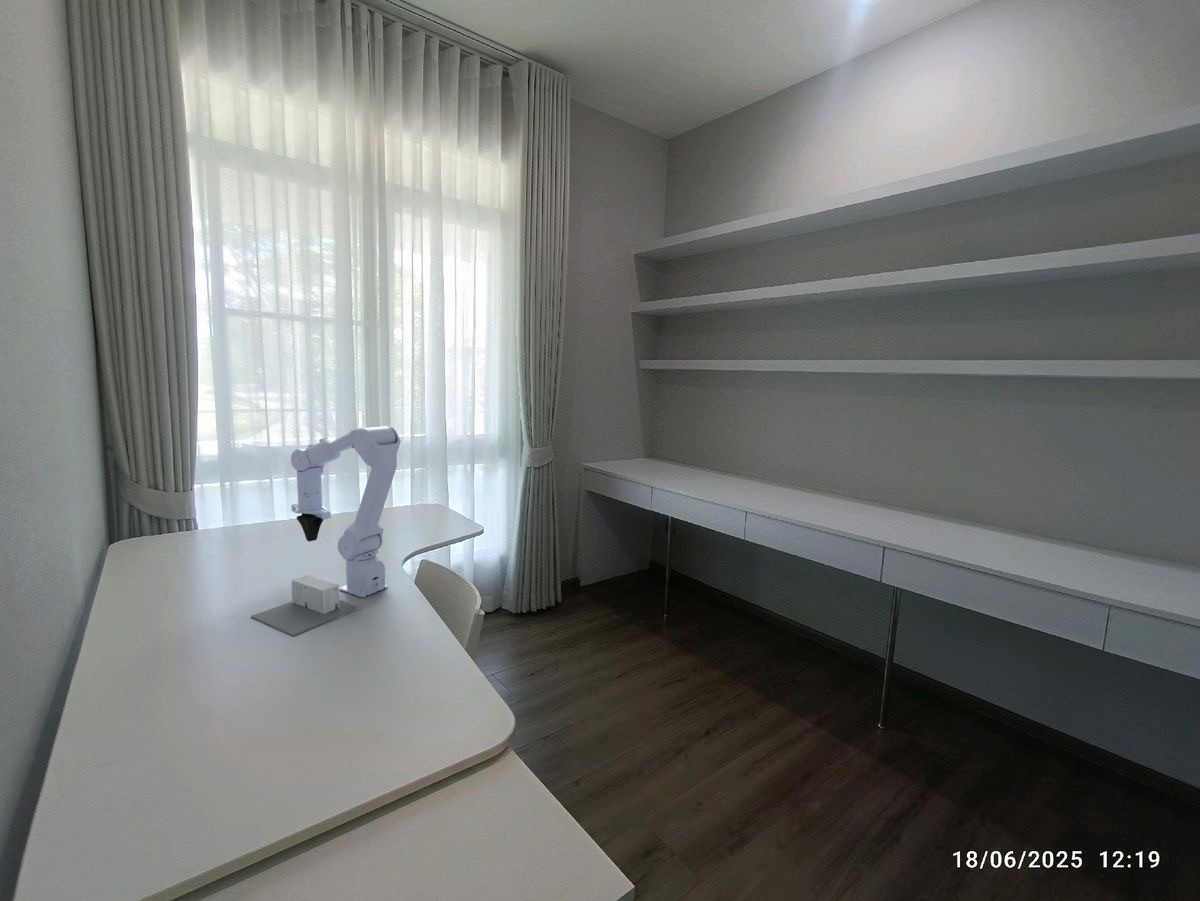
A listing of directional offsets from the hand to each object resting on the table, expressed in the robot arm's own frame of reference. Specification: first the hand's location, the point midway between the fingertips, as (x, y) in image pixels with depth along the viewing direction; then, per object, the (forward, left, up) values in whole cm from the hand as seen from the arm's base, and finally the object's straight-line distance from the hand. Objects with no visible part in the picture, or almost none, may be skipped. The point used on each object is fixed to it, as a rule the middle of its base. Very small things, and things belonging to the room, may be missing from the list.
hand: (311, 540), depth 140 cm
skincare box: (-12, +11, -7) cm, 18 cm away
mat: (-20, +14, -10) cm, 26 cm away
